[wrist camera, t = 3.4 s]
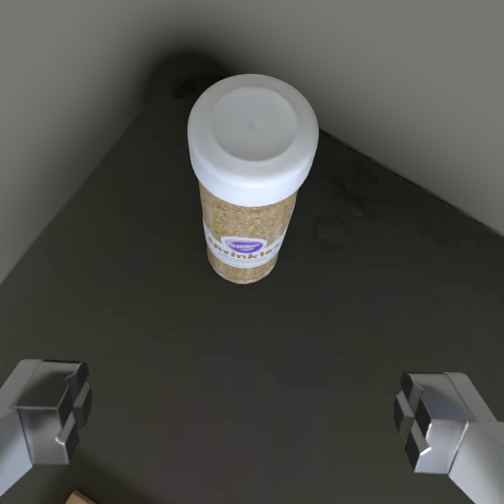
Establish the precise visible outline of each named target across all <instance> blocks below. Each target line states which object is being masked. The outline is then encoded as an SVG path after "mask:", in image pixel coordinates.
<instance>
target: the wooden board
mask: <svg viewBox="0 0 504 504" xmlns="http://www.w3.org/2000/svg"><path fill="white" fill-rule="evenodd" d="M65 504H96V503H95V502H93V501H92V500H90V499H89V498H87V497H86V496H84V495H83V494H81V493H80V492H78V491H74V492H73V493H72V494H71V495H70V497H69V498H68V500H67V502H66V503H65Z"/></svg>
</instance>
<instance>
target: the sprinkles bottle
mask: <svg viewBox="0 0 504 504" xmlns="http://www.w3.org/2000/svg"><path fill="white" fill-rule="evenodd" d="M318 136H319V129H318V123H317V119H316V116H315V114H314V111H313V109H312V107H311V106H310V104H309V103H308V101H307V100H306V99H305V97H304V96H303V95H301V93H300V92H298V91H297V90H296V89H295V88H293V87H292V86H290V85H289V84H287V83H285V82H283V81H281V80H279V79H276V78H274V77H270V76H265V75H259V74H243V75H237V76H233V77H229V78H226V79H223V80H221V81H219V82H217V83H216V84H214V85H212V86H211V87H209V88H208V89H207V90H206V91H205V92H204V93H203V94H202V95H201V96H200V97H199V98H198V100H197V101H196V103H195V105H194V106H193V108H192V111H191V113H190V116H189V121H188V142H189V151H190V158H191V163H192V167H193V169H194V172H195V174H196V176H197V177H198V179H199V187H200V196H201V203H202V209H203V225H204V231H205V237H206V241H207V244H208V245H207V254H208V258H209V262H210V263H211V265H212V267H213V269H214V270H215V271H216V272H217V273H218V274H219V275H220V276H221V277H223V278H225V279H226V280H230V281H231V282H235V283H238V284H248V283H252V282H256V281H258V280H260V279H262V278H263V277H265V276H266V275H268V274H269V272H270V271H271V270H272V269H273V267H274V266H275V263H276V261H277V258H278V250H279V249H280V247H281V244H282V241H283V238H284V235H285V233H286V229H287V227H288V224H289V221H290V218H291V215H292V212H293V209H294V206H295V201H296V194H297V191H298V188H299V187H300V186H301V185H302V183H303V182H304V180H305V179H306V177H307V175H308V173H309V170H310V168H311V165H312V162H313V158H314V155H315V152H316V148H317V144H318Z"/></svg>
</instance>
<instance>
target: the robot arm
mask: <svg viewBox="0 0 504 504" xmlns="http://www.w3.org/2000/svg"><path fill="white" fill-rule="evenodd" d="M88 375H89V372H88V367H87V363H85V362H82V361H64V360H46V359H45V360H38V359H24V360H22V361H20V362H19V363H18V365H17V366H16V367H15V369H14V370H13V372H12V373H11V374H10V376H9V377H8V379H7V380H6V381H5V383H4V384H3V386H2V387H1V388H0V496H1V495H2V494H3V493H4V492H6V491H7V490H8V489H9V488H10V487H11V486H12V485H13V484H14V483H15V482H16V481H18V480H19V479H20V478H21V477H22V476H23V475H24V474H25V473H26V472H27V471H28V470H30V469H31V468H32V465H68V464H70V461H71V459H72V456H73V454H74V452H75V449H76V447H77V445H78V442H79V436H78V431H79V430H80V429H82V428H83V427H84V426H85V425H86V423H87V420H88V418H89V415H90V410H91V405H92V391H91V387H90V386H89V385H88V384H87V383H86V382H85V381H86V379H87V377H88ZM400 385H401V388H402V390H403V391H402V392H400V393H399V394H398V395H397V396H396V398H395V403H394V420H395V424H396V427H397V430H398V433H399V434H400V435H401V436H402V437H403V438H405V439H406V440H407V443H406V446H405V451H406V453H407V456H408V458H409V461H410V463H411V466H412V468H413V471H414V473H433V474H449V477H450V478H451V479H452V480H453V481H454V482H455V483H456V484H457V485H458V486H459V487H460V488H461V489H462V490H463V491H464V492H465V493H466V494H467V495H468V496H469V498H470V499H471V500H472V501H473V502H474V503H475V504H504V422H498V421H497V420H496V418H495V417H494V415H493V414H492V412H491V411H490V409H489V408H488V407H487V405H486V404H485V402H484V401H483V399H482V398H481V396H480V395H479V393H478V392H477V390H476V389H475V387H474V386H473V384H472V383H471V381H470V380H469V378H468V377H467V375H465V374H464V373H459V372H443V373H439V372H404V373H403V375H402V376H401V380H400Z"/></svg>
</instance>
